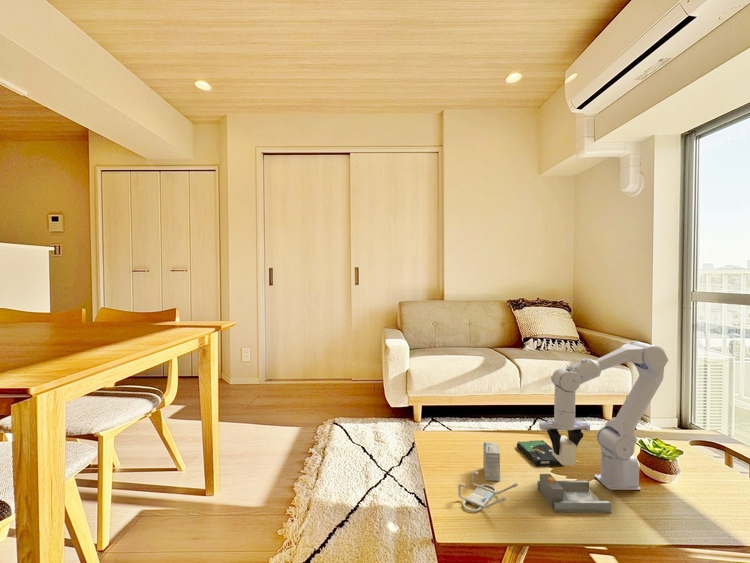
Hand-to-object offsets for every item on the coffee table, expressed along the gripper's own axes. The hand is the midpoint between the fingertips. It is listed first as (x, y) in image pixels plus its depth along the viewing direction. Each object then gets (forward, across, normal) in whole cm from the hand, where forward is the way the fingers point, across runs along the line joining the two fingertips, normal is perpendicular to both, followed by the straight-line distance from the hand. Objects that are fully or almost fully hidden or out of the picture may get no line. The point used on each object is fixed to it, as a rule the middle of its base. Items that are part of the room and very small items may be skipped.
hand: (564, 453), depth 118 cm
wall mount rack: (+9, +26, +10) cm, 30 cm away
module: (+2, 0, 0) cm, 2 cm away
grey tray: (+9, +2, +9) cm, 13 cm away
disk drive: (+10, 0, -18) cm, 20 cm away
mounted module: (+9, +8, +10) cm, 15 cm away
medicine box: (+9, +21, -4) cm, 23 cm away
